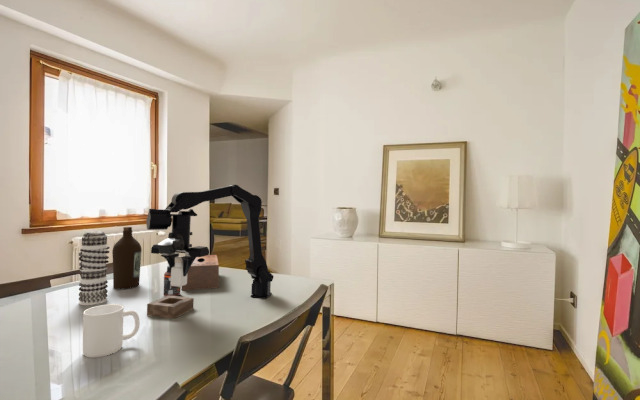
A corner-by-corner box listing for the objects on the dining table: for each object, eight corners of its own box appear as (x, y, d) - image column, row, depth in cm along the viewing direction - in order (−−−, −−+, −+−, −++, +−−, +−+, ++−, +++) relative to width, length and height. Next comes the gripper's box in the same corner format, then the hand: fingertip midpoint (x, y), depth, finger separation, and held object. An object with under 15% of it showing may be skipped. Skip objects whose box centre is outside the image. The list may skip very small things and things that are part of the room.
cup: (83, 347, 83) (83, 307, 83) (137, 337, 90) (138, 300, 90) (81, 361, 76) (82, 317, 76) (140, 349, 83) (141, 308, 83)
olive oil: (107, 290, 133) (108, 228, 133) (117, 283, 144) (118, 226, 143) (136, 289, 135) (137, 228, 135) (144, 282, 146) (145, 226, 146)
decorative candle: (111, 301, 119) (113, 232, 119) (80, 307, 112) (82, 233, 112) (104, 296, 125) (106, 230, 125) (74, 301, 119) (76, 231, 119)
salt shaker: (187, 284, 113) (189, 256, 113) (180, 287, 109) (181, 258, 109) (177, 283, 114) (178, 255, 114) (169, 286, 110) (171, 257, 110)
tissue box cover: (185, 276, 160) (185, 255, 160) (216, 274, 165) (216, 254, 165) (181, 290, 136) (182, 266, 136) (218, 288, 140) (218, 264, 140)
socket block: (193, 309, 114) (193, 297, 114) (173, 319, 104) (174, 306, 104) (168, 306, 116) (168, 295, 116) (146, 316, 106) (147, 303, 106)
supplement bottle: (173, 298, 125) (174, 268, 125) (160, 296, 126) (160, 267, 126) (183, 293, 131) (184, 265, 131) (170, 292, 132) (170, 264, 132)
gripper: (139, 229, 106) (137, 278, 106) (190, 232, 102) (188, 283, 101) (163, 227, 117) (161, 271, 117) (210, 230, 112) (208, 276, 112)
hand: (179, 275), depth 111 cm, fingers closed on salt shaker, 4 cm apart
